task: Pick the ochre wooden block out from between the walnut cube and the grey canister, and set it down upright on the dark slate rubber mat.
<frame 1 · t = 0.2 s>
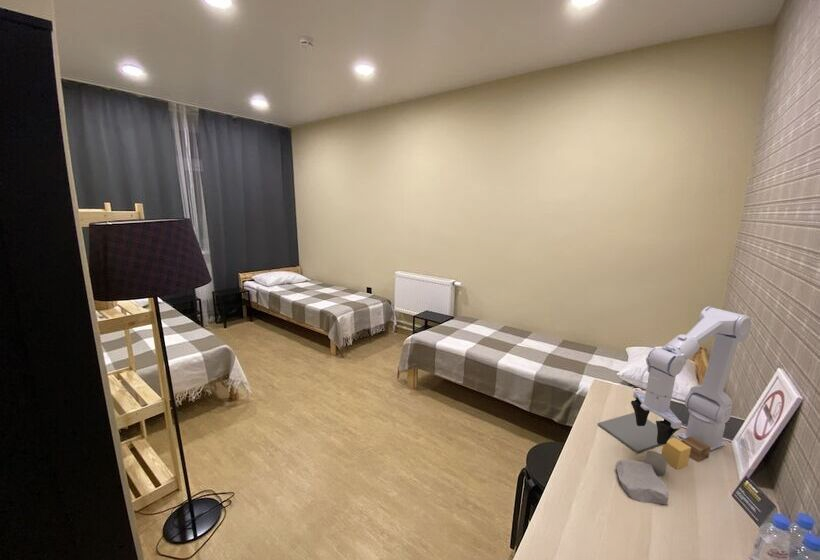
hand: (650, 434, 95), 10 cm above the table, fingers open, 7 cm apart
stone block: (636, 485, 90), on the table
slate mat: (635, 432, 111), on the table
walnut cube: (693, 454, 101), on the table
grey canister: (654, 469, 96), on the table
ochre block: (673, 461, 98), on the table
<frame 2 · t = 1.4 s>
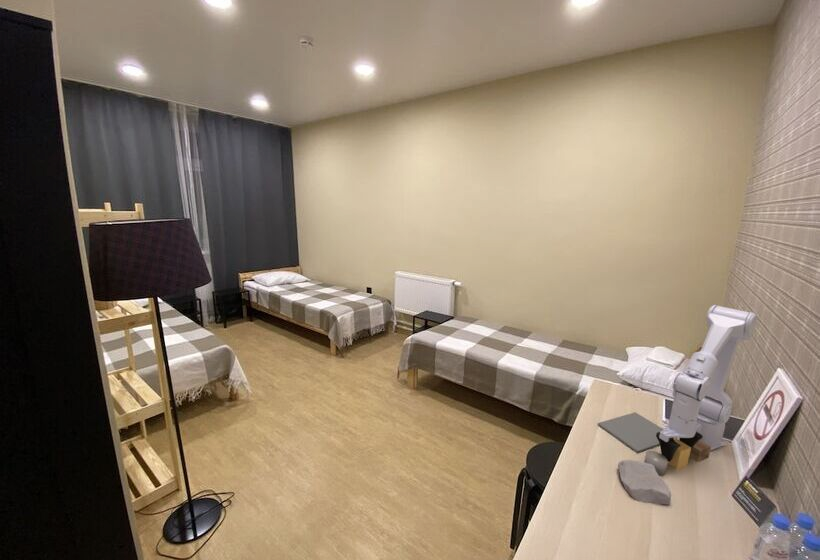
hand: (674, 455, 98), 2 cm above the table, fingers open, 7 cm apart
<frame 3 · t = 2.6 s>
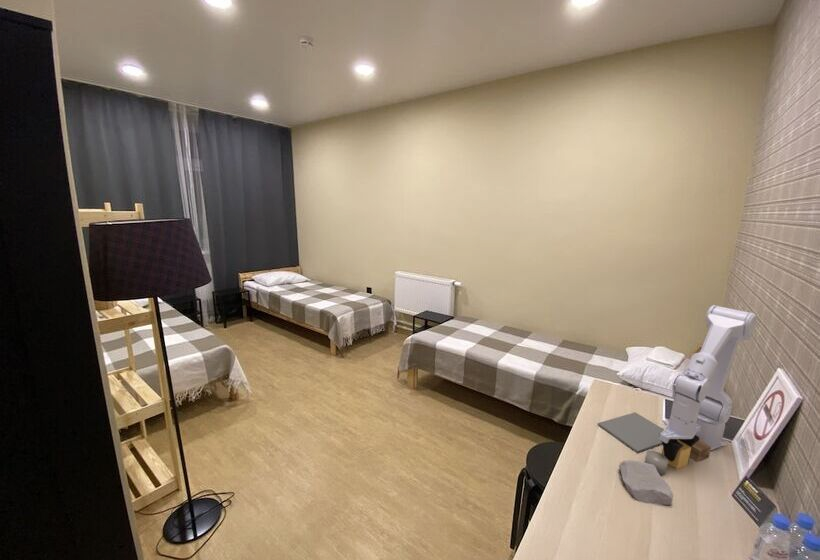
hand: (674, 456, 98), 2 cm above the table, fingers closed on ochre block, 4 cm apart
ochre block: (673, 461, 98), on the table, touching gripper
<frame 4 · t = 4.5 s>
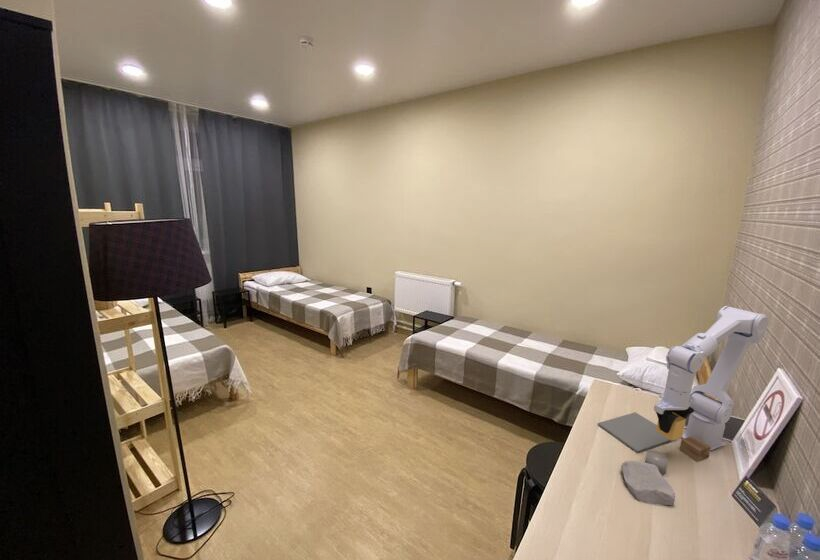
hand: (669, 429, 99), 9 cm above the table, fingers closed on ochre block, 4 cm apart
ochre block: (668, 434, 99), point 7 cm above the table, touching gripper
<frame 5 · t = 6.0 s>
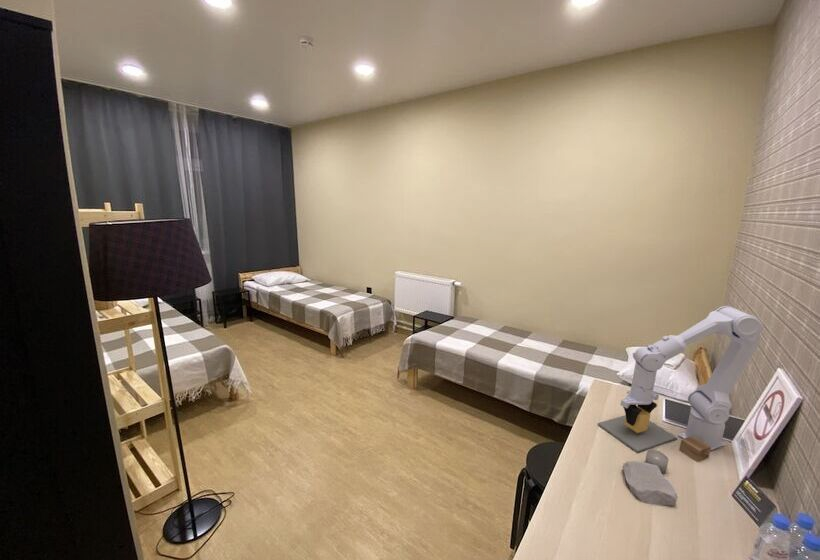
hand: (635, 422, 110), 4 cm above the table, fingers closed on ochre block, 4 cm apart
ochre block: (635, 427, 110), point 2 cm above the table, touching gripper
when the fingers open (4 cm above the table, at t = 6.9 s): ochre block drops 1 cm, resting on slate mat.
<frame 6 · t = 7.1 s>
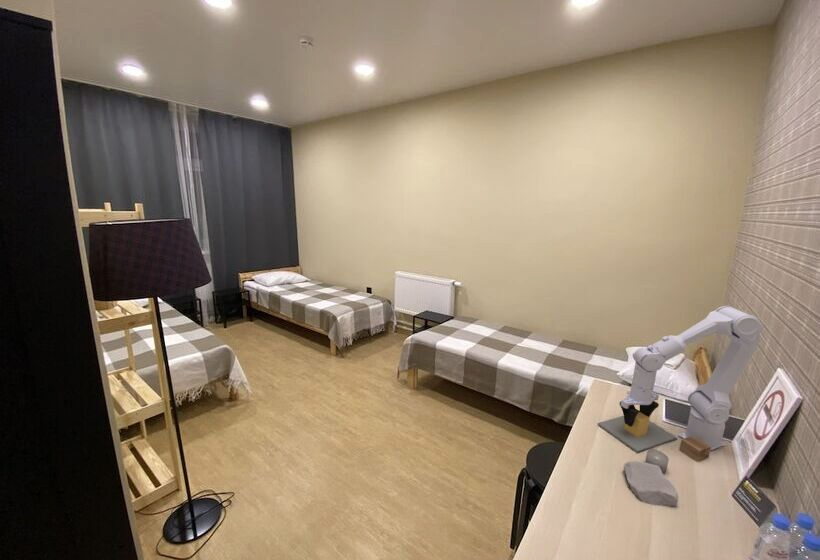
hand: (635, 422, 110), 4 cm above the table, fingers open, 6 cm apart
ochre block: (635, 431, 110), point 1 cm above the table, touching slate mat
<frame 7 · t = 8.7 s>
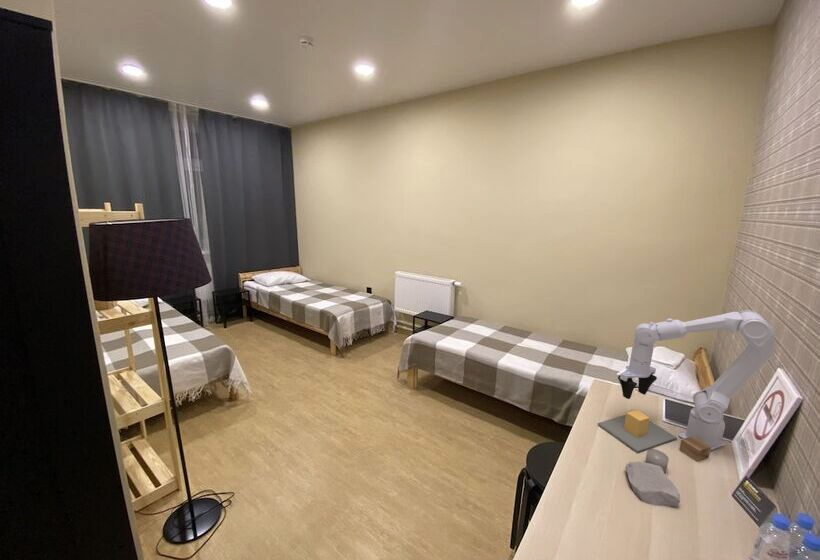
hand: (634, 395, 115), 9 cm above the table, fingers open, 7 cm apart
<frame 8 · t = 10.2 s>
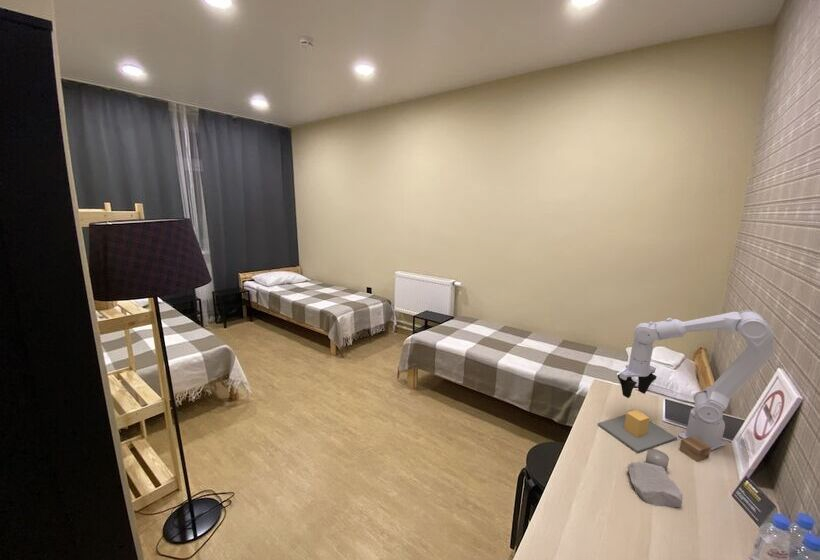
hand: (633, 394, 116), 9 cm above the table, fingers open, 7 cm apart
at the end: ochre block inside the target area on the slate mat (0.3 cm from its centre), point 0.8 cm above the slate mat's base; ochre block tilted 0°; the gripper is holding nothing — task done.
